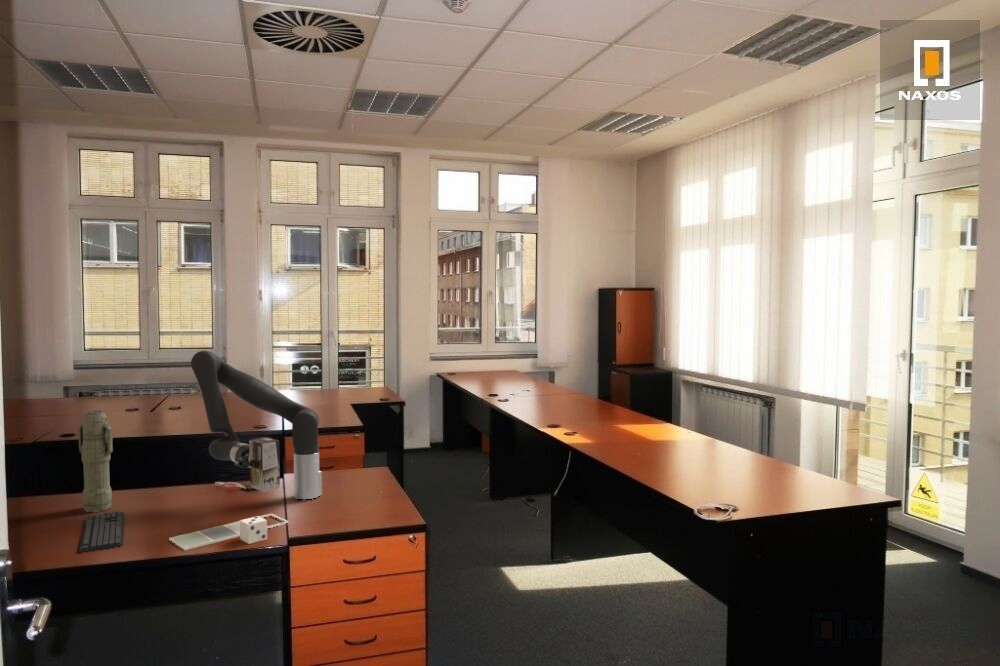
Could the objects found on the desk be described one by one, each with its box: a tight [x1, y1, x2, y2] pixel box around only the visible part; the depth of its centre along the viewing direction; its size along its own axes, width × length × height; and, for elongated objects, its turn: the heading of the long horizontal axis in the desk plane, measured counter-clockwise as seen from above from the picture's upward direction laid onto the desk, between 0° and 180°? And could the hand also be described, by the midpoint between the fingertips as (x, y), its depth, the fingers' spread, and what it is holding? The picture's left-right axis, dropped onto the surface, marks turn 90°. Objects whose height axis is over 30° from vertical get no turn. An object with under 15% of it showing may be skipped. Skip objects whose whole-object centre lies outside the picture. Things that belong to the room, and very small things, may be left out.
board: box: [169, 513, 290, 551], centre depth 222 cm, size 34×12×1 cm, turn 136°
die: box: [239, 515, 268, 545], centre depth 216 cm, size 6×6×6 cm
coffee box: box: [248, 437, 281, 493], centre depth 230 cm, size 9×6×16 cm
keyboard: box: [78, 510, 125, 554], centre depth 222 cm, size 35×11×2 cm, turn 28°
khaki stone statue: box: [77, 410, 114, 512], centre depth 245 cm, size 9×12×35 cm
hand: (267, 463), depth 228 cm, fingers closed on coffee box, 6 cm apart
